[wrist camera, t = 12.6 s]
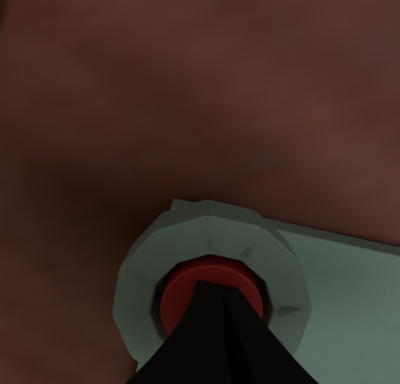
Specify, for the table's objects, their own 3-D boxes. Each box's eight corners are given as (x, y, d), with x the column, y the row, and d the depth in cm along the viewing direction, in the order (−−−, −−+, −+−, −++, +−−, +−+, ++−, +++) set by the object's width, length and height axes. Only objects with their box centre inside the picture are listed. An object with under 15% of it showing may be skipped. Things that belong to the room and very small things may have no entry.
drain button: (264, 252, 11) (275, 277, 9) (242, 328, 12) (248, 364, 10) (176, 233, 11) (170, 255, 9) (159, 311, 11) (151, 345, 10)
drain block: (472, 249, 12) (559, 291, 9) (385, 431, 14) (431, 512, 11) (149, 177, 11) (130, 198, 9) (112, 378, 14) (87, 449, 11)
